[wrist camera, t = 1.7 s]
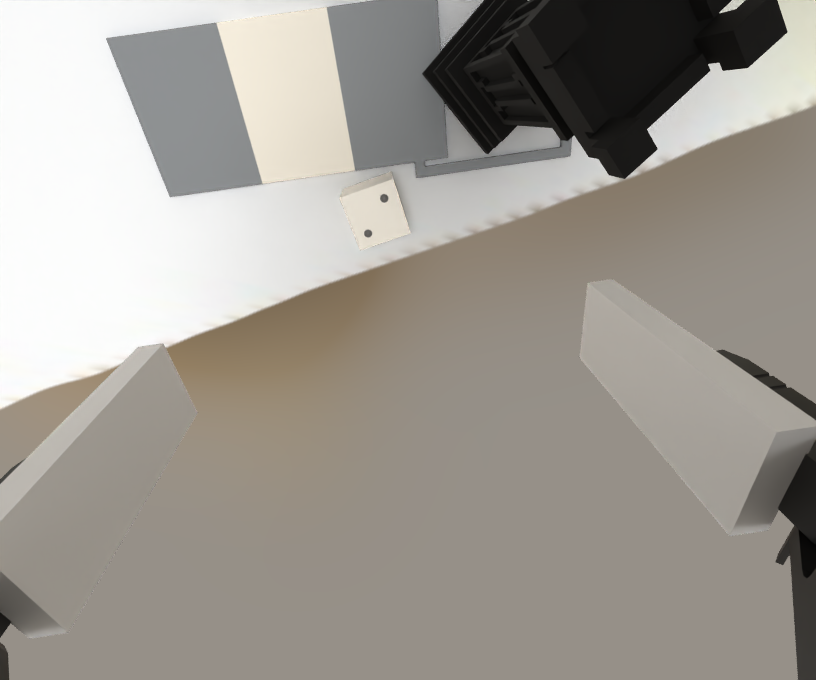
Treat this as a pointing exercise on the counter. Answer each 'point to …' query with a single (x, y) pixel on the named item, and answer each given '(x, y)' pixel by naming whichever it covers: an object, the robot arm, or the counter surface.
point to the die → (374, 211)
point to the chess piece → (592, 67)
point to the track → (287, 94)
